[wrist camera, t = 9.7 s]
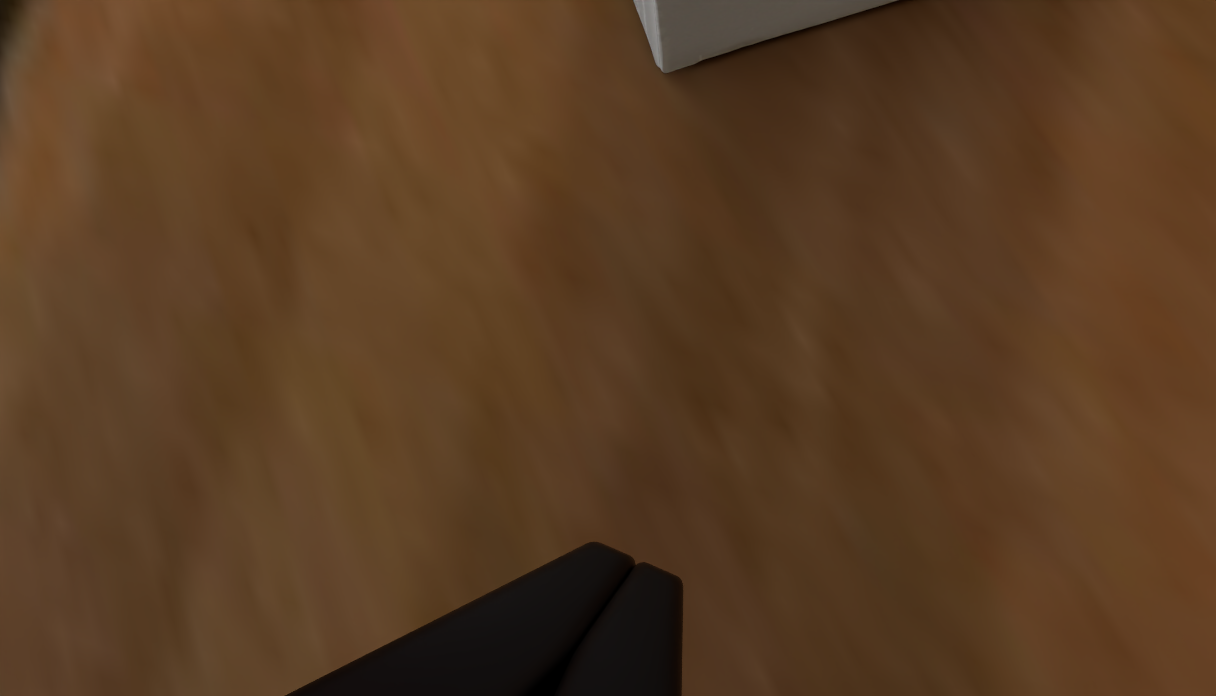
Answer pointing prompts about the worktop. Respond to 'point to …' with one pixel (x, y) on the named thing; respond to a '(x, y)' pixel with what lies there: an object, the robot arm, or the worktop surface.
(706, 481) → the worktop surface
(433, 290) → the worktop surface
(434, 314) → the worktop surface
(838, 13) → the cosmetic box
